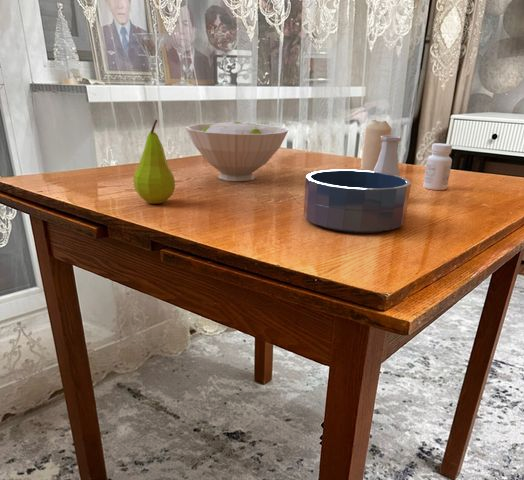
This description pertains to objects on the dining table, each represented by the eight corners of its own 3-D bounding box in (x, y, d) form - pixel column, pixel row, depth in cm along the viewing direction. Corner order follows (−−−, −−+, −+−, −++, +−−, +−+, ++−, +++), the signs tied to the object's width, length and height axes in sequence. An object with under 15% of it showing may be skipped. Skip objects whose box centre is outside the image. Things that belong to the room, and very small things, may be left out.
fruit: (126, 202, 84) (119, 118, 78) (158, 196, 88) (153, 116, 83) (153, 209, 80) (147, 122, 75) (184, 203, 84) (181, 120, 79)
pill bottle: (445, 186, 103) (453, 143, 99) (448, 191, 99) (456, 146, 96) (421, 185, 104) (428, 142, 100) (423, 189, 100) (431, 145, 96)
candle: (391, 170, 118) (397, 120, 113) (377, 173, 114) (383, 122, 109) (369, 167, 121) (375, 118, 116) (355, 169, 117) (360, 119, 113)
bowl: (253, 192, 93) (255, 130, 89) (165, 178, 102) (162, 121, 97) (302, 176, 108) (306, 122, 104) (222, 165, 117) (222, 115, 112)
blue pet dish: (415, 219, 80) (422, 177, 77) (386, 242, 69) (393, 194, 66) (326, 205, 86) (329, 166, 83) (286, 225, 75) (289, 180, 72)
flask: (369, 204, 87) (377, 138, 83) (355, 195, 94) (362, 133, 89) (411, 204, 88) (421, 139, 84) (395, 195, 95) (403, 134, 90)
